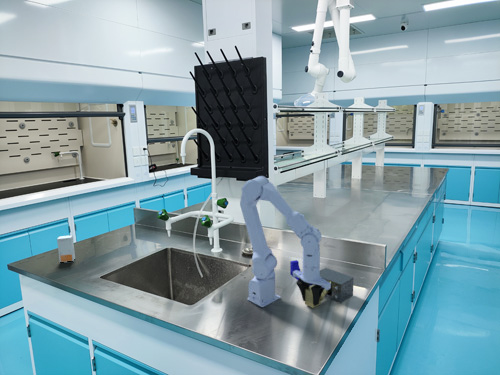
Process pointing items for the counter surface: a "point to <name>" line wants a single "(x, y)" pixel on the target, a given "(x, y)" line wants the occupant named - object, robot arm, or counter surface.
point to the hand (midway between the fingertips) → (310, 302)
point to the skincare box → (66, 248)
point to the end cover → (310, 296)
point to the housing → (338, 285)
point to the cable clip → (295, 268)
